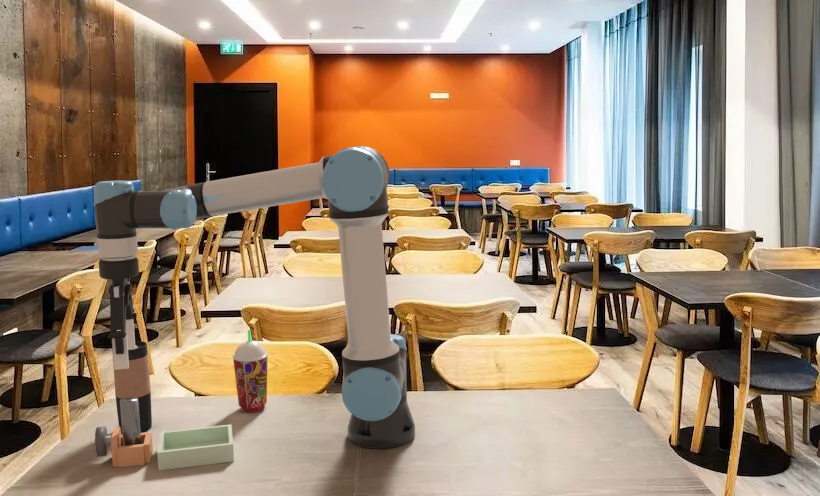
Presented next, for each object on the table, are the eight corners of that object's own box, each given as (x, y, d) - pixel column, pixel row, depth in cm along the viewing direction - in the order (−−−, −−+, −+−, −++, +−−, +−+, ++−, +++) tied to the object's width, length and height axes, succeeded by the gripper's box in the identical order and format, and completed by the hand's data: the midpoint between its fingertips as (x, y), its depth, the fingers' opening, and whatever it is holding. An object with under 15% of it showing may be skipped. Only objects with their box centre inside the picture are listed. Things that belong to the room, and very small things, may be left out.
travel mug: (141, 436, 172) (135, 350, 169) (111, 433, 174) (104, 349, 170) (159, 423, 180) (153, 341, 176) (129, 421, 181) (123, 339, 178)
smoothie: (266, 414, 184) (262, 334, 181) (232, 415, 184) (227, 335, 181) (272, 402, 192) (269, 325, 189) (240, 402, 192) (236, 325, 189)
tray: (232, 440, 169) (231, 424, 168) (234, 461, 159) (233, 444, 158) (161, 448, 165) (160, 432, 165) (158, 470, 155) (157, 452, 154)
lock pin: (143, 453, 163) (138, 395, 161) (141, 461, 159) (137, 401, 157) (125, 456, 162) (120, 397, 160) (123, 463, 158) (118, 403, 156)
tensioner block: (153, 449, 165) (150, 416, 164) (150, 463, 158) (148, 429, 157) (101, 455, 162) (98, 421, 161) (96, 470, 155) (93, 435, 154)
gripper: (106, 248, 165) (113, 343, 168) (89, 269, 141) (97, 379, 144) (142, 247, 167) (148, 340, 170) (131, 267, 143) (139, 376, 146)
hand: (125, 358), depth 157 cm, fingers open, 13 cm apart
